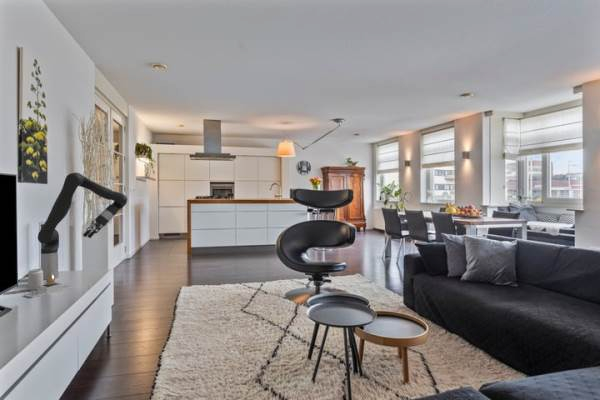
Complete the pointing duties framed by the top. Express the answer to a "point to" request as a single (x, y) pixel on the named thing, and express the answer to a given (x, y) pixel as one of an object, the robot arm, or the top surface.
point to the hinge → (49, 289)
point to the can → (35, 279)
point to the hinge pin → (50, 280)
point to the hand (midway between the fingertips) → (86, 236)
